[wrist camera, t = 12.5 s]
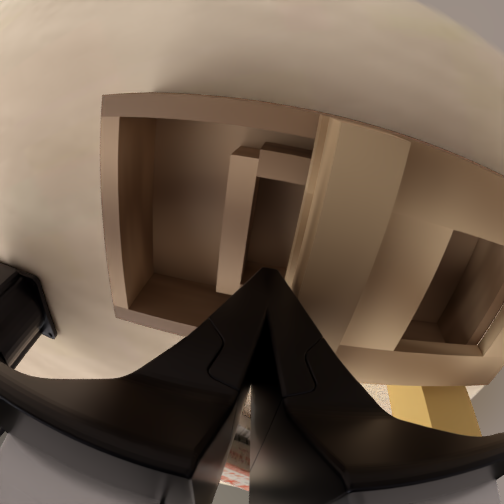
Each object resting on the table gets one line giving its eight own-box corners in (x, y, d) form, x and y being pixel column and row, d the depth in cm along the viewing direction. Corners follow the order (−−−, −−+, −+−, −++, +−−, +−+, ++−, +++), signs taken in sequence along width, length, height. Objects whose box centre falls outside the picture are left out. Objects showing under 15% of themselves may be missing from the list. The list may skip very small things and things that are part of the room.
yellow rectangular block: (423, 374, 18) (449, 483, 10) (384, 372, 18) (402, 491, 10) (446, 341, 17) (487, 457, 9) (405, 337, 17) (440, 467, 9)
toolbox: (436, 325, 16) (456, 372, 13) (147, 273, 17) (115, 317, 13) (502, 175, 11) (548, 202, 8) (150, 92, 12) (102, 94, 8)
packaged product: (320, 490, 22) (249, 500, 26) (321, 451, 26) (255, 467, 30) (164, 422, 17) (112, 438, 22) (183, 370, 22) (129, 400, 26)
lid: (483, 374, 12) (498, 411, 10) (264, 356, 13) (257, 408, 10) (571, 218, 7) (607, 246, 5) (319, 114, 8) (331, 119, 6)
